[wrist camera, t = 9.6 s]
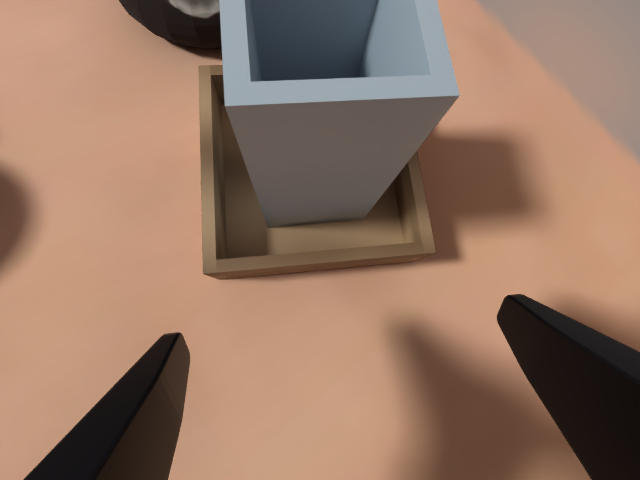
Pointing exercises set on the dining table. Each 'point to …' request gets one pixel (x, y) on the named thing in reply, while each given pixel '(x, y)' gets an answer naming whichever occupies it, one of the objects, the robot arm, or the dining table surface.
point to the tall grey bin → (331, 99)
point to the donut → (180, 20)
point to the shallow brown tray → (301, 240)
